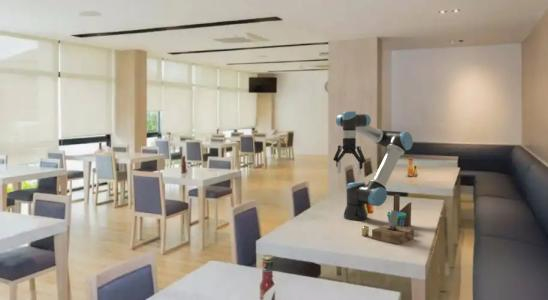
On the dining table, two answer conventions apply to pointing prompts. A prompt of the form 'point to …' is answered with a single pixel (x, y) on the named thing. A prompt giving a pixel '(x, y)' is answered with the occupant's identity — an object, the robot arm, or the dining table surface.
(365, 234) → the short brass pin
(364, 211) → the robot arm
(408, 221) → the brown forked bracket
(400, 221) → the snack cup
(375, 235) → the hole block
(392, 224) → the long steel pin
